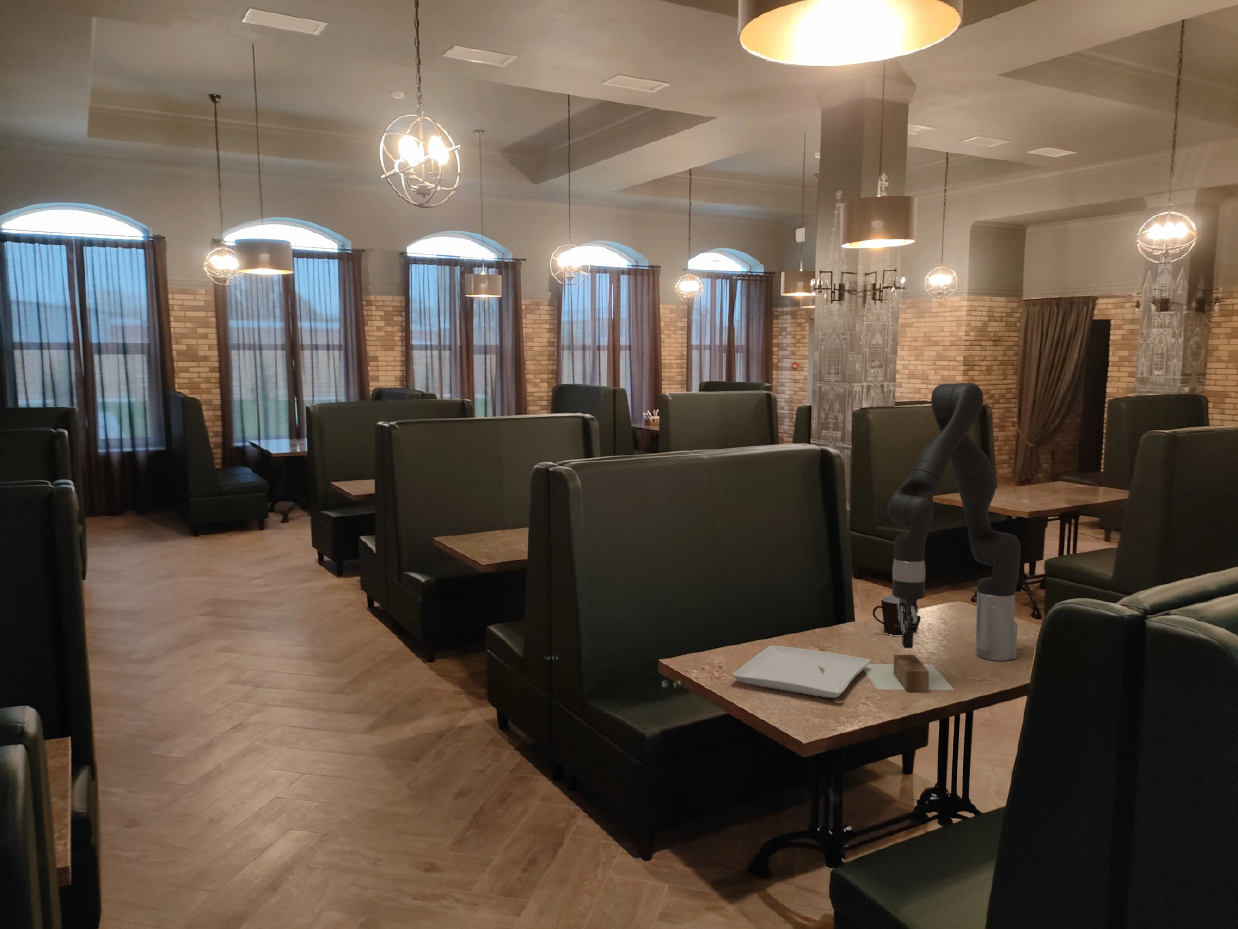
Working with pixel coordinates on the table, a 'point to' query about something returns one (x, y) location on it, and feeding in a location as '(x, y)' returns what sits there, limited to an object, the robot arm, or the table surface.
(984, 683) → the table surface
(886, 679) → the sage mat
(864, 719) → the table surface
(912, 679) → the walnut block
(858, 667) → the square plate
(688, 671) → the table surface
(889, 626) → the coffee mug
